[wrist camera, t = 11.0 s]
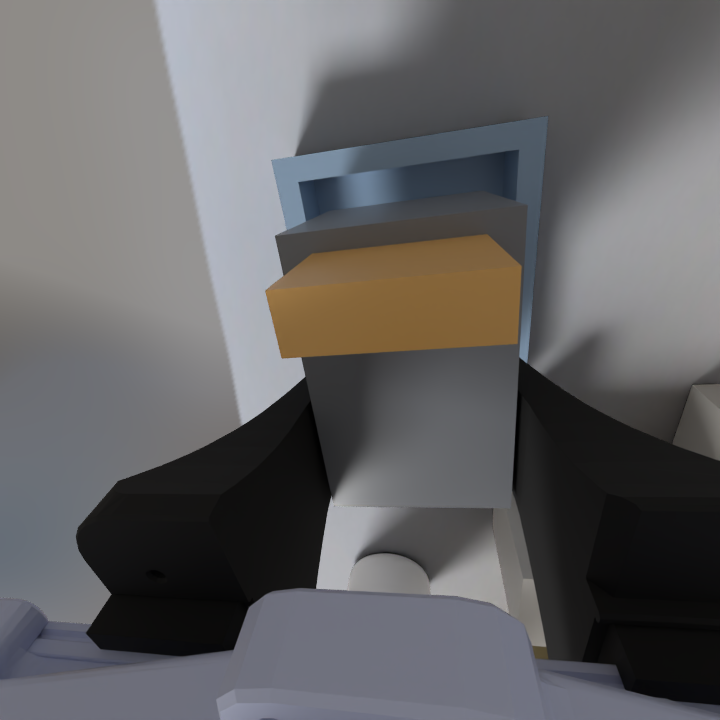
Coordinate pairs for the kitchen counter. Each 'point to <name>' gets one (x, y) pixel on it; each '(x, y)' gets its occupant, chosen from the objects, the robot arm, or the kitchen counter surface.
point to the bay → (695, 433)
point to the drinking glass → (388, 575)
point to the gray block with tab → (409, 346)
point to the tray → (426, 179)
